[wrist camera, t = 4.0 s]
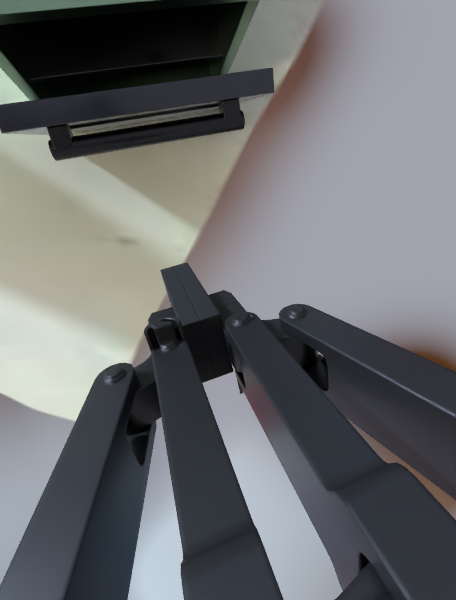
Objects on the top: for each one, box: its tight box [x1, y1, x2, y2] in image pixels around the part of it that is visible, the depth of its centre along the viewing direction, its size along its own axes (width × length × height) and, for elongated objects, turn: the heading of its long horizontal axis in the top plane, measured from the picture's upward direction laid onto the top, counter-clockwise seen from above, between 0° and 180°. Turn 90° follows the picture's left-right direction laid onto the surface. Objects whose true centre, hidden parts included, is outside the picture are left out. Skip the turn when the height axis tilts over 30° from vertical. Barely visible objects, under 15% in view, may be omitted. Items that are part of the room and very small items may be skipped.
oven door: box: [0, 68, 274, 161], centre depth 30 cm, size 4×20×16 cm, turn 102°
